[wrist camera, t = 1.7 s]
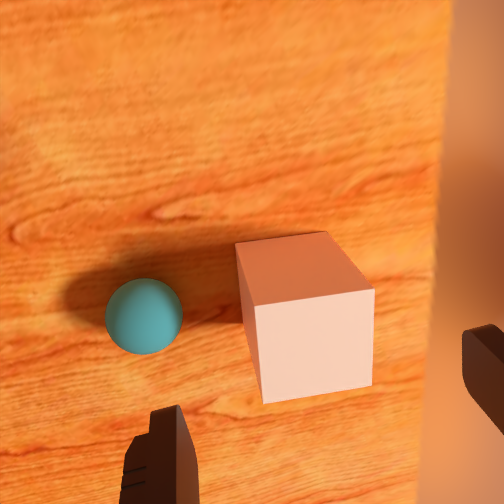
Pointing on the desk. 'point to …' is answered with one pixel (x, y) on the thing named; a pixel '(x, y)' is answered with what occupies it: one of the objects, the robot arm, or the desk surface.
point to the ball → (143, 316)
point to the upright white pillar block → (305, 316)
